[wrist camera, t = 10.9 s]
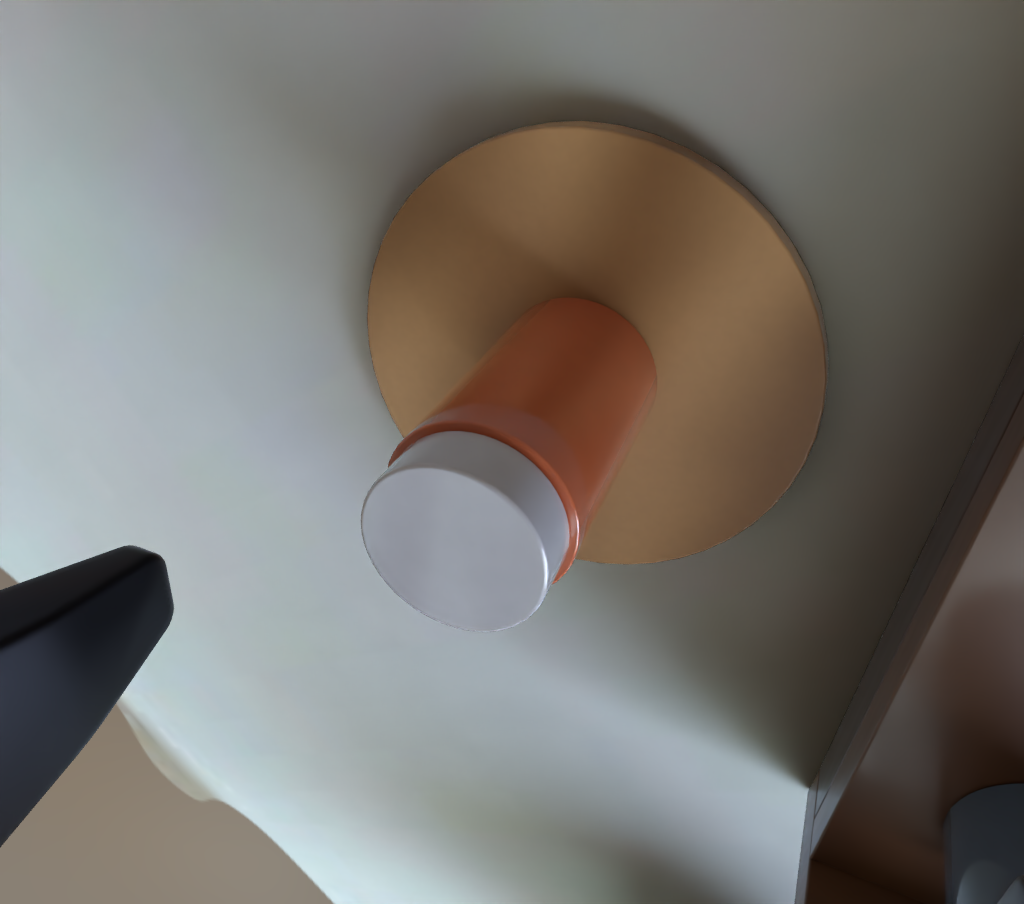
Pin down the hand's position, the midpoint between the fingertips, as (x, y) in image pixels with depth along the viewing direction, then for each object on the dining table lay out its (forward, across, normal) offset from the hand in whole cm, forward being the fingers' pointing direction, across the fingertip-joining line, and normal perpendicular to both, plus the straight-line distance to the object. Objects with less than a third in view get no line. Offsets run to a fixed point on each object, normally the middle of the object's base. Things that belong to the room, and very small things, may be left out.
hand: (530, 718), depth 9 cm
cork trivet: (+12, +3, +3) cm, 13 cm away
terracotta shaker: (+12, +3, +3) cm, 12 cm away
